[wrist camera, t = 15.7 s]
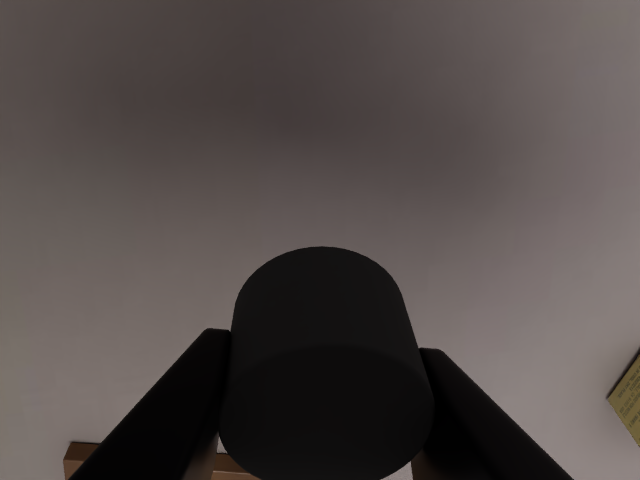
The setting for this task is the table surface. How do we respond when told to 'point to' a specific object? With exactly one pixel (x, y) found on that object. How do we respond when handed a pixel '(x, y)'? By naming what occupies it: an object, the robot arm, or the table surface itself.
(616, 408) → the candy box
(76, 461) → the board
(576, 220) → the table surface
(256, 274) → the dot
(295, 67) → the table surface
